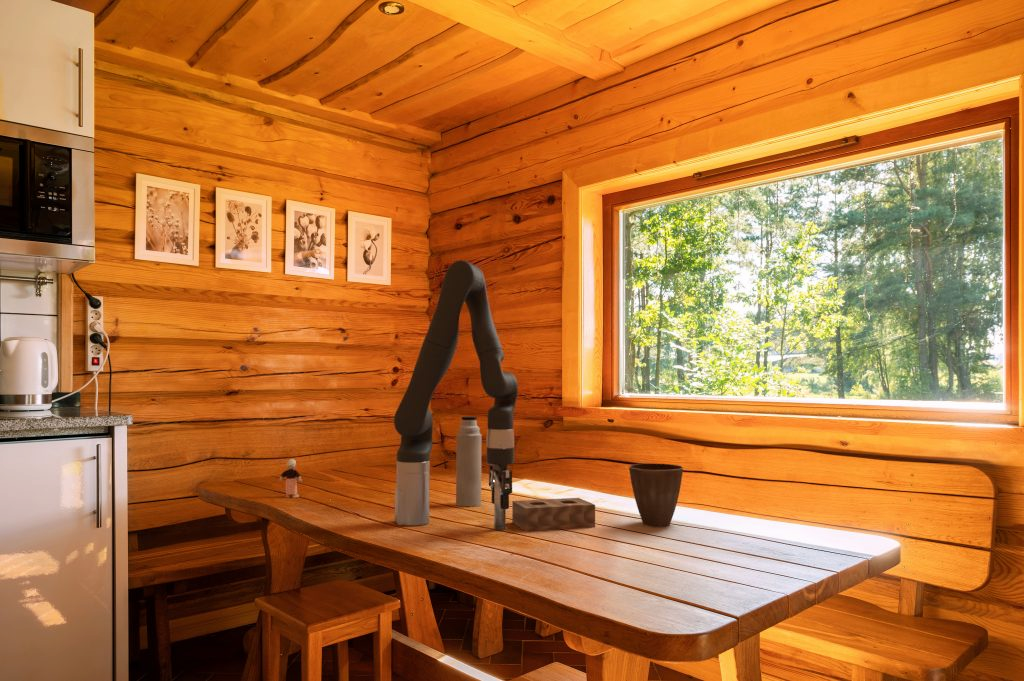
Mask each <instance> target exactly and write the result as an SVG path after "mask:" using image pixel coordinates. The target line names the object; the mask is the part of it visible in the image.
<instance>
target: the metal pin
mask: <svg viewBox="0 0 1024 681" xmlns="http://www.w3.org/2000/svg"><path fill="white" fill-rule="evenodd" d="M505 489H506V487H505ZM500 495H501V494H500V489H499V488H498V487H497V483H496V479H495V490H494V504H493V505H494V510H493V514H494V518H493V519H494V521H493V523H494V524H493V527H494V528H493V530H495V531H505V530H506V516H507V515H506V510H507V509H501V508H500Z"/></svg>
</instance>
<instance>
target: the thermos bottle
mask: <svg viewBox="0 0 1024 681" xmlns="http://www.w3.org/2000/svg"><path fill="white" fill-rule="evenodd" d="M477 420H478V417H477V416H462V417H461V425H460V426H458V433H456V452H455V453H456V456H455V457H456V459H455V460H456V464H455V465H456V466H455V468H456V470H455V471H456V472H455V474H456V478H455V482H456V484H455V506H457V505H458V506H457V507H461V506H470V507H469V508H473V507H472V506H476V507H479V505H480V506H482V447H483V446H482V437H483V436H482V433H480V430H481V429H480V427H479V426H478V425H477V424H478V421H477Z"/></svg>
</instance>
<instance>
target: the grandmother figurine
mask: <svg viewBox="0 0 1024 681" xmlns="http://www.w3.org/2000/svg"><path fill="white" fill-rule="evenodd" d="M296 464H297V462H296V460H295V459H293V458H291V459H288V460H287V461H286V463H285V466H286V467H287V470H285V471H283V472H282V473H281V474H280V477H279V479H278V480H279V482H282V481H283V479H284V478H285V498H293V499H295V498H299V497H300V494H298V487H297V484H298V483H297V482H299V483H301V482H303V479H302V478H301V474H300V473H299V471H298V470H296V469H295V468H296ZM297 480H298V481H297Z"/></svg>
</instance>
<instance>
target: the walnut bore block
mask: <svg viewBox="0 0 1024 681" xmlns="http://www.w3.org/2000/svg"><path fill="white" fill-rule="evenodd" d="M511 514H512V521H511V522H512V524H514V525H515V526H517V527H519V528H520V529H522V530H523V531H525V532H533V531H547V530H549V531H550V530H564V529H565V530H566V529H580V528H581V529H582V528H584V529H585V528H596V504H595V503H592V502H589V501H588V500H585V499H583V498H580V497H570V498H569V497H568V498H567V497H566V498H565V497H563V498H547V499H546V498H545V499H528V500H527V499H525V500H524V499H523V500H521V499H520V500H512V513H511Z"/></svg>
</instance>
